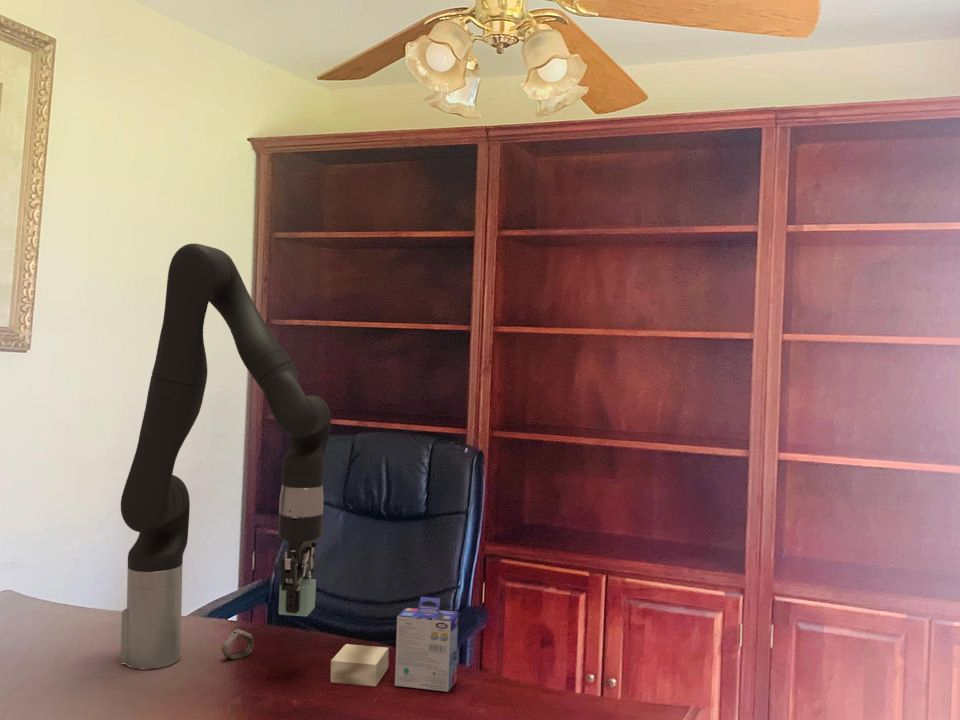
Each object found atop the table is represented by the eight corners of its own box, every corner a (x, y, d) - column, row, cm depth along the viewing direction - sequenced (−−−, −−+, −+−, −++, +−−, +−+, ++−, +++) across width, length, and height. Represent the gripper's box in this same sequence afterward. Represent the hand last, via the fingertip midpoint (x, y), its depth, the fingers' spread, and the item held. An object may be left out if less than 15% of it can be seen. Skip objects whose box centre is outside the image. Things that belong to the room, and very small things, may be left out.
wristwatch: (257, 654, 152) (257, 627, 152) (229, 664, 147) (229, 636, 147) (244, 649, 154) (245, 623, 154) (217, 659, 149) (217, 632, 149)
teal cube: (278, 614, 141) (279, 585, 141) (287, 605, 146) (288, 577, 146) (306, 616, 141) (308, 587, 141) (314, 607, 146) (316, 579, 146)
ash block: (330, 683, 141) (331, 660, 141) (345, 665, 149) (345, 643, 149) (375, 688, 140) (376, 664, 139) (388, 669, 147) (388, 647, 147)
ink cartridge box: (457, 680, 143) (460, 597, 143) (450, 693, 138) (452, 607, 137) (403, 674, 145) (405, 592, 145) (393, 687, 140) (396, 602, 139)
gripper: (292, 501, 151) (288, 593, 151) (266, 517, 137) (262, 619, 137) (332, 503, 150) (328, 596, 151) (310, 520, 136) (306, 622, 136)
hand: (297, 606), depth 144 cm, fingers closed on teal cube, 5 cm apart
